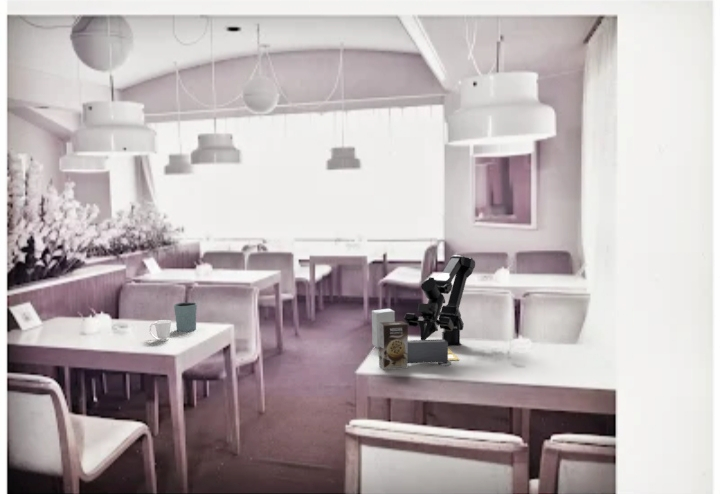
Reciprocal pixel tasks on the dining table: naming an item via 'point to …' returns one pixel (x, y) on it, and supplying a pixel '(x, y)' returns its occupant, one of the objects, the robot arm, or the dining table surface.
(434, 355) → the gray rectangular panel
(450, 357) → the left label plate
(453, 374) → the dining table surface
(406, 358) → the cookie box
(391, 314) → the skincare box
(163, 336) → the cup
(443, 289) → the robot arm
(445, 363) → the flange
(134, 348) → the dining table surface
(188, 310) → the teal tapered pot
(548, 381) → the dining table surface
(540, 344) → the dining table surface
